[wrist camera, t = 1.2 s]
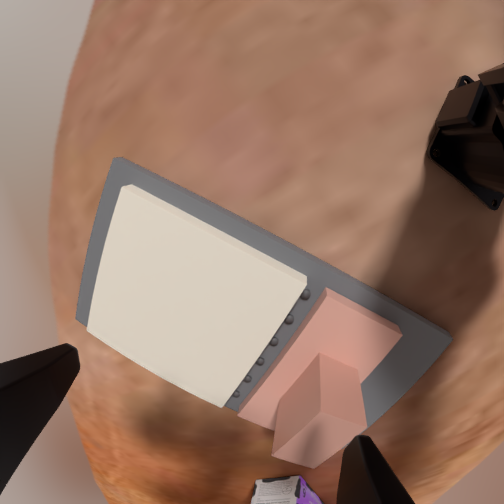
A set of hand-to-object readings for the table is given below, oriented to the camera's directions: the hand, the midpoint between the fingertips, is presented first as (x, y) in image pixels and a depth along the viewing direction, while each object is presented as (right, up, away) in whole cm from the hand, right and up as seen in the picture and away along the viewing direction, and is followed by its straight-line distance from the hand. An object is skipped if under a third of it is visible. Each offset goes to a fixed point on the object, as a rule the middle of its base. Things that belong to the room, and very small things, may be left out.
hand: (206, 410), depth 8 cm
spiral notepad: (-3, +1, +12) cm, 12 cm away
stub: (+5, -4, +12) cm, 14 cm away
